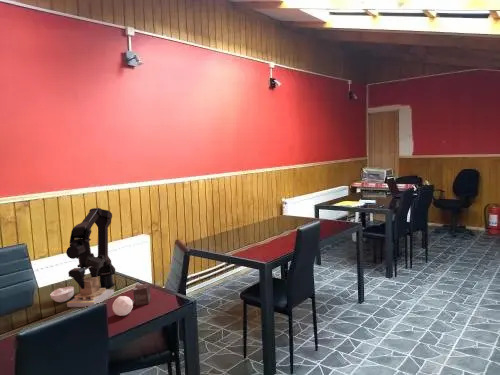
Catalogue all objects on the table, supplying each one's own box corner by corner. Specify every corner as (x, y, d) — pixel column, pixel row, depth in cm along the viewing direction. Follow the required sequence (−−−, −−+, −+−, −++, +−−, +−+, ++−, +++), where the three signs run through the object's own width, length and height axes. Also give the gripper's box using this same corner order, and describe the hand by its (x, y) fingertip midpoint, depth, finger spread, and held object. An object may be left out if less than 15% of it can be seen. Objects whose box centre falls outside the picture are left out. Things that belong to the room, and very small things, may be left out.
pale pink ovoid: (105, 310, 167) (120, 302, 179) (120, 322, 165) (135, 313, 177) (114, 294, 166) (128, 287, 178) (130, 306, 165) (143, 298, 176)
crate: (88, 289, 196) (86, 277, 196) (99, 289, 195) (97, 276, 194) (80, 294, 190) (78, 281, 190) (92, 294, 189) (90, 281, 188)
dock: (88, 293, 202) (88, 289, 202) (114, 293, 199) (113, 289, 199) (67, 307, 187) (66, 302, 187) (94, 306, 183) (93, 302, 183)
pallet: (88, 292, 199) (87, 288, 198) (106, 291, 196) (105, 287, 196) (74, 300, 189) (74, 296, 189) (93, 299, 187) (93, 295, 186)
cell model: (81, 295, 201) (79, 282, 200) (65, 305, 189) (62, 291, 189) (63, 296, 203) (61, 282, 203) (46, 305, 192) (43, 291, 191)
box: (151, 299, 185) (149, 283, 184) (148, 304, 179) (146, 288, 178) (138, 300, 185) (136, 285, 184) (134, 306, 179) (132, 289, 178)
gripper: (87, 257, 180) (92, 292, 181) (110, 246, 198) (115, 278, 199) (65, 258, 182) (70, 292, 184) (90, 247, 200) (95, 278, 202)
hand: (89, 285), depth 192 cm, fingers open, 9 cm apart
